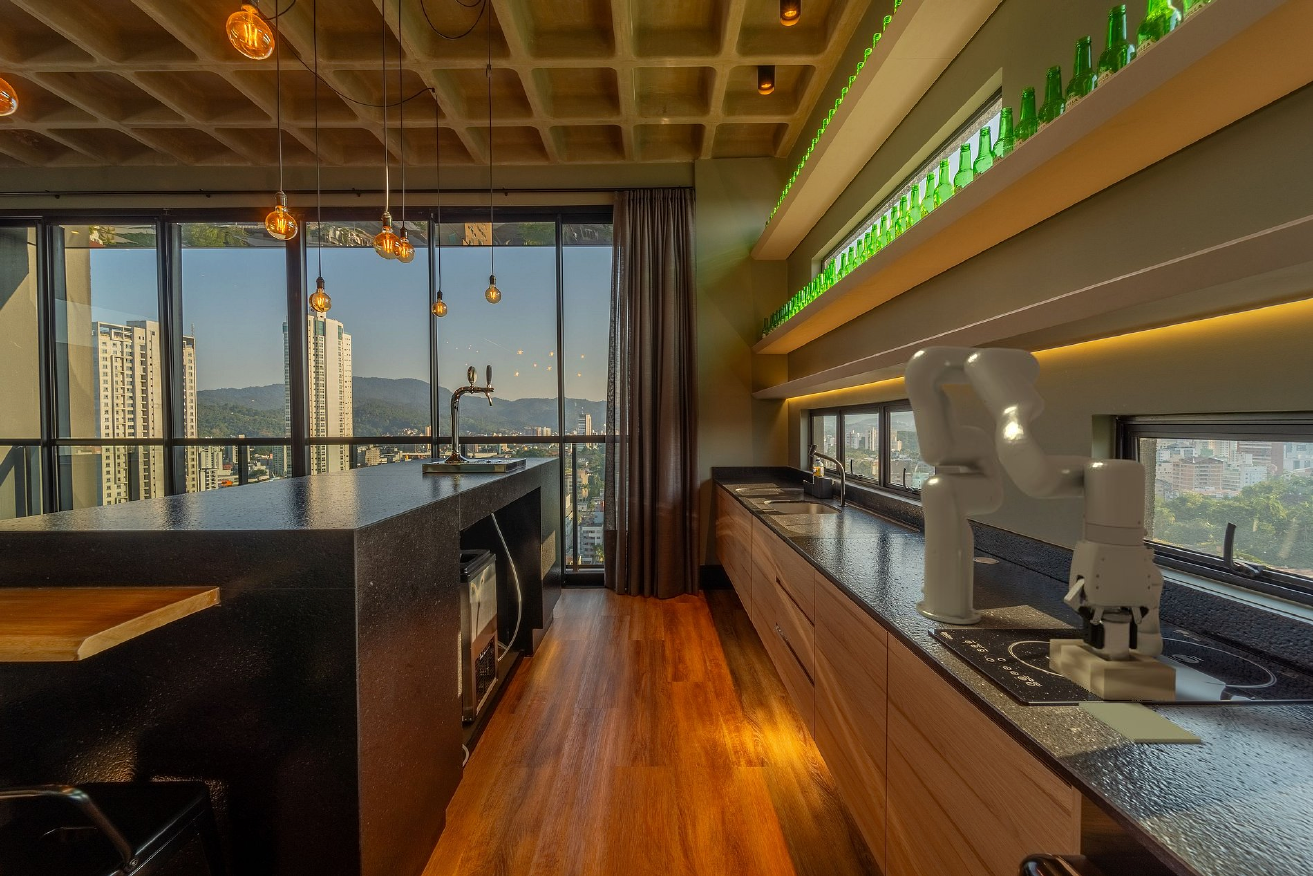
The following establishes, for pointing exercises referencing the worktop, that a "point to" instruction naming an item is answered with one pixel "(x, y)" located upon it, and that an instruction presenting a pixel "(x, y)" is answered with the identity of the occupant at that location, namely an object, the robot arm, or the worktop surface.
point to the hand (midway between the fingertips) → (1109, 644)
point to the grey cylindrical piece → (1114, 635)
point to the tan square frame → (1113, 672)
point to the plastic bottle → (1151, 616)
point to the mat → (1139, 723)
